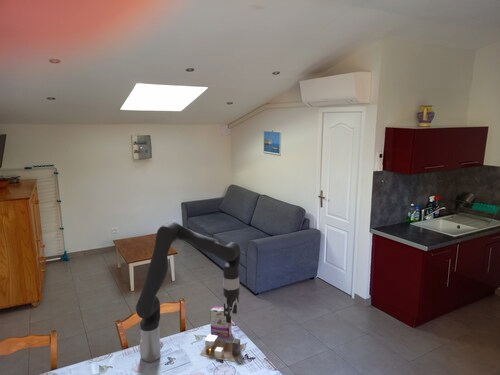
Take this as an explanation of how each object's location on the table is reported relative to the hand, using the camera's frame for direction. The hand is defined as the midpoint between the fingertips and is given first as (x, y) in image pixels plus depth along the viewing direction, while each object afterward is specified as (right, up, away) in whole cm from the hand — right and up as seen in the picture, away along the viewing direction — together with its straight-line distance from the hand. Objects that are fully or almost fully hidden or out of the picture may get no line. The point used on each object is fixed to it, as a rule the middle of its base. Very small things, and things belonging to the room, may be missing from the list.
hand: (231, 317), depth 165 cm
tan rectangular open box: (-6, -26, +21) cm, 34 cm away
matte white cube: (-7, -26, +17) cm, 32 cm away
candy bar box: (-8, -24, +36) cm, 44 cm away
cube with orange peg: (-12, -25, +21) cm, 35 cm away
